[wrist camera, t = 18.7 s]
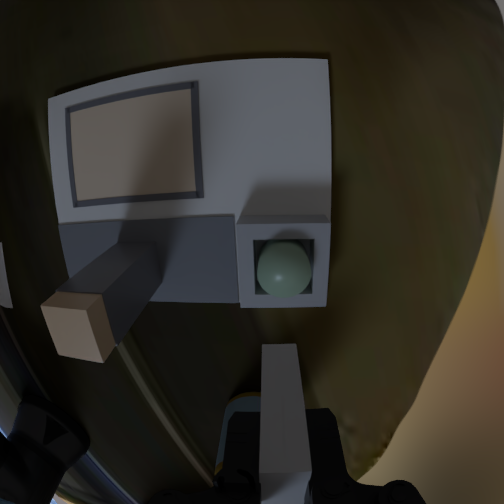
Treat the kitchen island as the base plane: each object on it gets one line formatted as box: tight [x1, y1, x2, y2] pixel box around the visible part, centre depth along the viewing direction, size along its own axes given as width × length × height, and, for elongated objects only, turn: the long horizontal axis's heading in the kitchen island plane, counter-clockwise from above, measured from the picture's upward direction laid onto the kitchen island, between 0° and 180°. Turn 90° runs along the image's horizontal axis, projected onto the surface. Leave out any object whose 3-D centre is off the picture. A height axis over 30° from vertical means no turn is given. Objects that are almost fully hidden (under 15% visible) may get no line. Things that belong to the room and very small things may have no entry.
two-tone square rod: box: [40, 241, 162, 363], centre depth 22 cm, size 4×4×12 cm
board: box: [48, 58, 331, 308], centre depth 24 cm, size 26×21×4 cm
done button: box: [257, 239, 311, 298], centre depth 24 cm, size 4×4×3 cm
